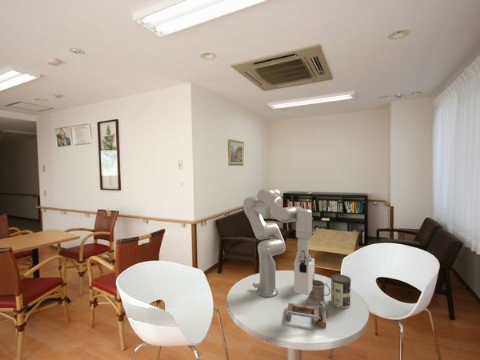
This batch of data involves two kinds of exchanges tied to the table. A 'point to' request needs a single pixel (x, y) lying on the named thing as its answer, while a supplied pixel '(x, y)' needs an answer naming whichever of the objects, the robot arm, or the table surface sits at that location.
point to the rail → (302, 315)
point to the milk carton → (303, 276)
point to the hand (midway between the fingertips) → (303, 268)
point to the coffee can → (340, 290)
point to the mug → (317, 292)
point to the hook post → (321, 310)
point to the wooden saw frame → (309, 310)
